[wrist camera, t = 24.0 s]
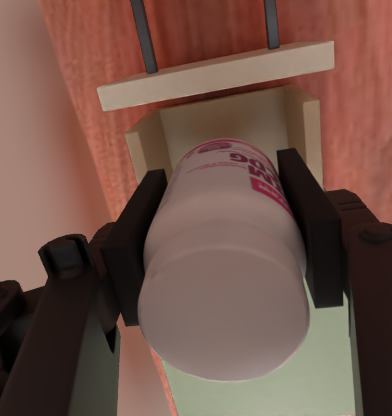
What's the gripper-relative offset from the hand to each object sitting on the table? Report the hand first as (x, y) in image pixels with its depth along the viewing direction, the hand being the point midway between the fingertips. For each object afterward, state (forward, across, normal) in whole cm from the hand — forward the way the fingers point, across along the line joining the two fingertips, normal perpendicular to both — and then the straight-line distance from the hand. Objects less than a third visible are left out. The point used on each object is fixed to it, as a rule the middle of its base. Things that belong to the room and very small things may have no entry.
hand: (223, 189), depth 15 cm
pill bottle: (+1, 0, 0) cm, 1 cm away
